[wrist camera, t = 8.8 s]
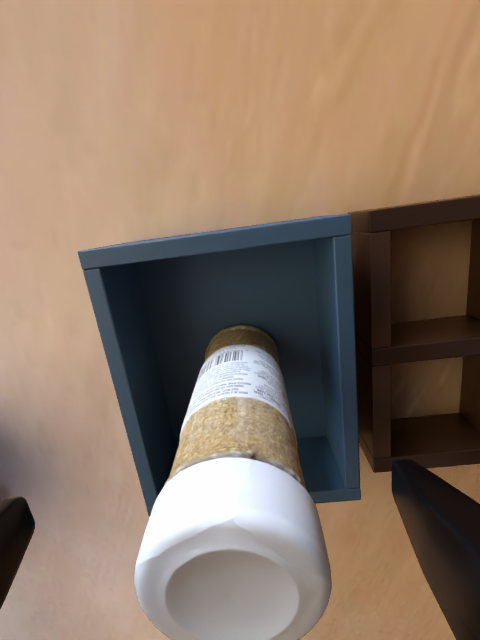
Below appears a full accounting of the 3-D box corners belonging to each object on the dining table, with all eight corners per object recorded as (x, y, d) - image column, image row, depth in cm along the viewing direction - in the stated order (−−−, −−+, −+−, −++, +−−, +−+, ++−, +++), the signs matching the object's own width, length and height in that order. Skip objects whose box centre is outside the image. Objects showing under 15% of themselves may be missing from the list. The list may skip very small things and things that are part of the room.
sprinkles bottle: (215, 396, 21) (162, 678, 8) (197, 330, 20) (97, 538, 7) (286, 382, 20) (349, 657, 8) (272, 314, 19) (319, 504, 6)
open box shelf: (336, 437, 22) (361, 500, 17) (170, 452, 23) (148, 517, 18) (323, 215, 18) (351, 213, 13) (122, 243, 19) (76, 251, 14)
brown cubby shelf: (473, 424, 22) (514, 461, 19) (355, 435, 22) (373, 473, 19) (492, 192, 18) (549, 186, 14) (347, 212, 18) (369, 210, 15)
